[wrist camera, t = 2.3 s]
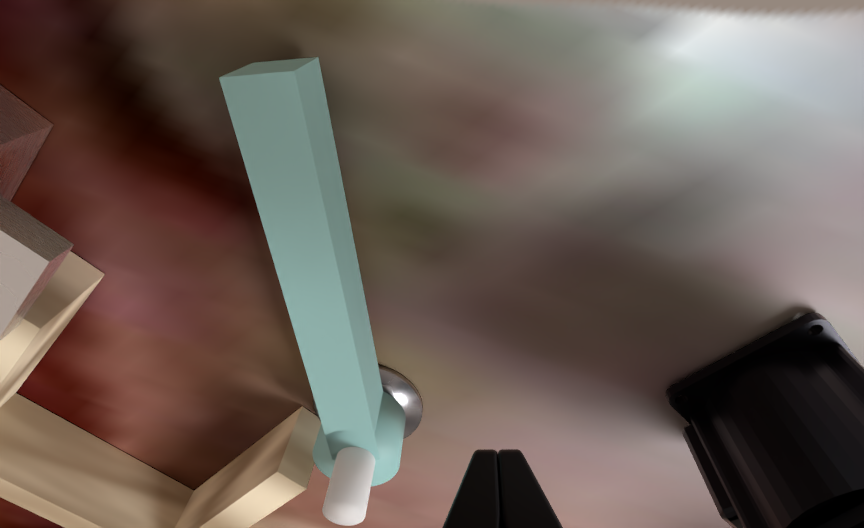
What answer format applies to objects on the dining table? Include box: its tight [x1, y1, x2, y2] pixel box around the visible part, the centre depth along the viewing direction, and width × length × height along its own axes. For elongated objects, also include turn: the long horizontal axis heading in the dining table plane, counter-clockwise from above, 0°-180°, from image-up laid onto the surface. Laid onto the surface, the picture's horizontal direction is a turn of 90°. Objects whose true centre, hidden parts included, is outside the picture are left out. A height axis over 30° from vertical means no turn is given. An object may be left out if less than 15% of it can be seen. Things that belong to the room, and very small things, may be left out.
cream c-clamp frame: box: [0, 251, 321, 528], centre depth 22 cm, size 12×13×4 cm
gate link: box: [219, 57, 406, 526], centre depth 17 cm, size 17×4×5 cm, turn 5°
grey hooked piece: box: [0, 85, 423, 439], centre depth 18 cm, size 5×20×5 cm, turn 45°
